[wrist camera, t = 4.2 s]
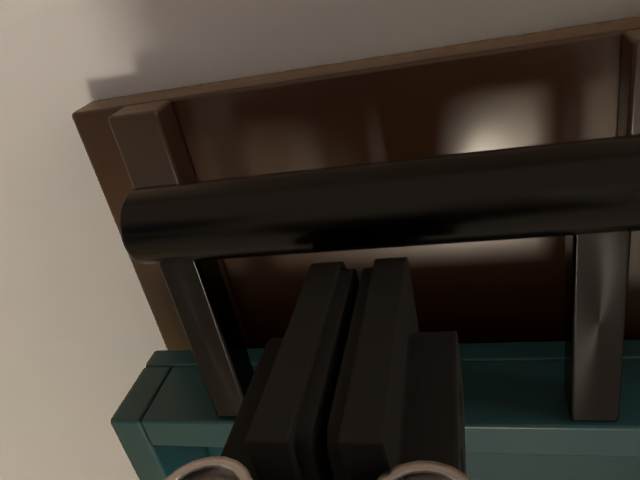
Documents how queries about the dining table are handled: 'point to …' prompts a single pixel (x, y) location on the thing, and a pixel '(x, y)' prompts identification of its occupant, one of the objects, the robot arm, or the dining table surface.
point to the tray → (401, 231)
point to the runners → (377, 146)
